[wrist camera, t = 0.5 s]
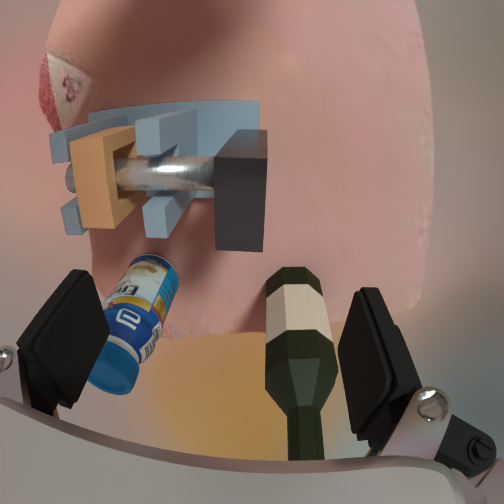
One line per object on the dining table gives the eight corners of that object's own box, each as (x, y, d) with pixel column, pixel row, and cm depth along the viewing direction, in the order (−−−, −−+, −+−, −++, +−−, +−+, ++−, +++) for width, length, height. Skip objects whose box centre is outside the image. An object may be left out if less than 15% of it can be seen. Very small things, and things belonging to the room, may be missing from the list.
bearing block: (100, 195, 37) (42, 242, 25) (91, 112, 31) (20, 130, 19) (255, 196, 37) (249, 252, 25) (259, 101, 31) (254, 103, 19)
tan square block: (119, 196, 31) (83, 227, 24) (112, 127, 27) (69, 142, 20) (146, 196, 31) (114, 228, 24) (141, 124, 27) (102, 137, 20)
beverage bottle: (156, 304, 47) (114, 405, 30) (120, 268, 44) (59, 363, 26) (192, 281, 44) (155, 392, 27) (153, 241, 41) (90, 343, 24)
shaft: (109, 183, 32) (35, 240, 19) (104, 135, 29) (19, 171, 16) (264, 184, 32) (262, 252, 19) (267, 130, 28) (267, 158, 16)
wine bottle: (256, 300, 45) (244, 501, 19) (277, 257, 41) (284, 484, 15) (305, 315, 46) (322, 504, 20) (330, 275, 42) (376, 482, 16)
